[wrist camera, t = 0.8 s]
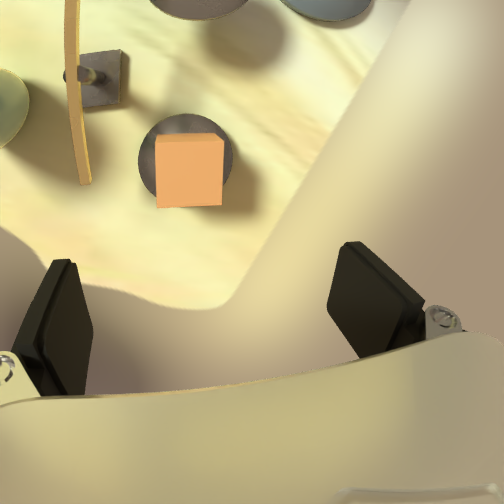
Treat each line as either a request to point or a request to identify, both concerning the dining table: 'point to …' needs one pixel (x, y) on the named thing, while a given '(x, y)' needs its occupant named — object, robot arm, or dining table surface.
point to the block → (189, 169)
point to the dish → (328, 8)
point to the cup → (12, 105)
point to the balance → (108, 87)
